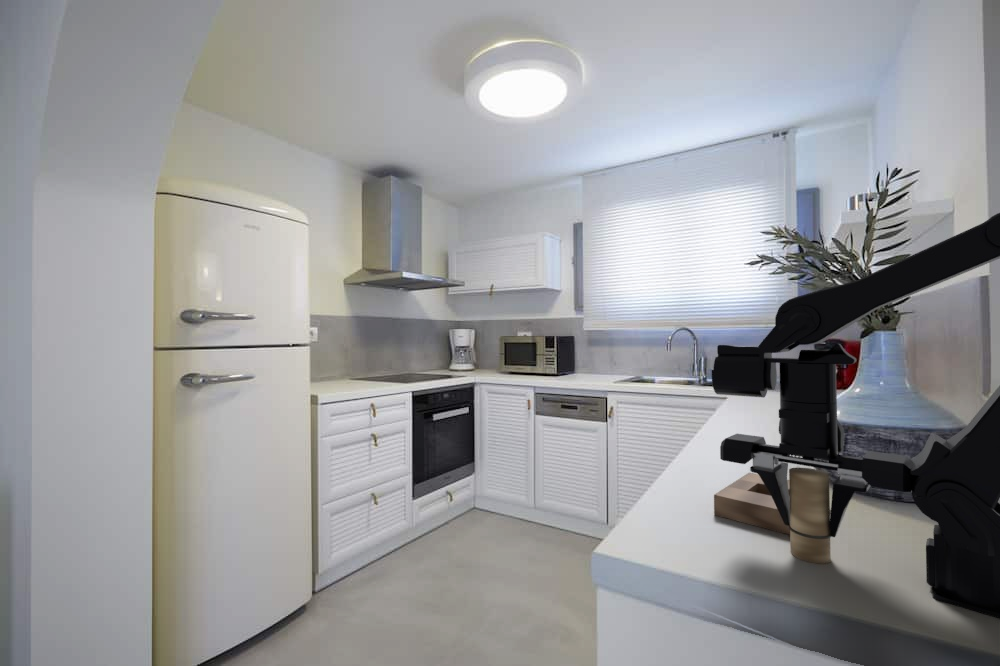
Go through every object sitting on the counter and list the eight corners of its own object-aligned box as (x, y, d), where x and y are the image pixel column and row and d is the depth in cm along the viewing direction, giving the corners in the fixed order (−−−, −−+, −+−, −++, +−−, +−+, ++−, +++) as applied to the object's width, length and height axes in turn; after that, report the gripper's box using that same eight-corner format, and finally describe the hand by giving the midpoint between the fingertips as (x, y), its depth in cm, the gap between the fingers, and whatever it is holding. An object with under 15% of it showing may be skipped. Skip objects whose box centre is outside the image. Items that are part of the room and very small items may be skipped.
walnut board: (826, 506, 71) (825, 486, 71) (800, 537, 60) (800, 514, 60) (749, 489, 79) (749, 472, 79) (714, 514, 68) (713, 494, 68)
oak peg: (834, 555, 55) (833, 472, 55) (827, 567, 52) (826, 479, 52) (794, 544, 58) (793, 465, 58) (785, 555, 55) (784, 472, 55)
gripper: (916, 401, 54) (919, 533, 54) (746, 389, 67) (747, 495, 67) (908, 411, 46) (912, 566, 46) (717, 396, 60) (719, 516, 59)
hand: (809, 530), depth 55 cm, fingers open, 4 cm apart
